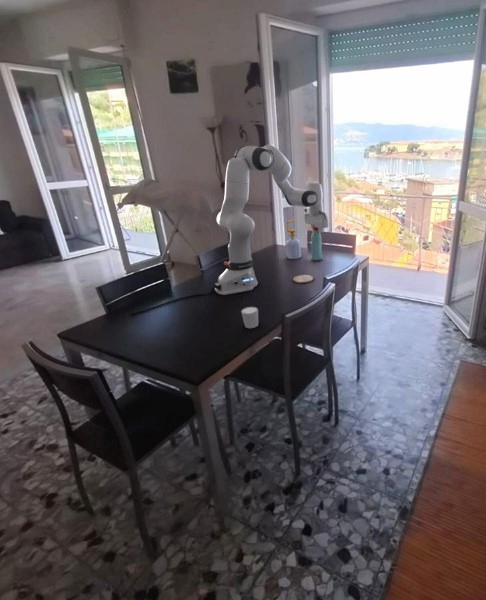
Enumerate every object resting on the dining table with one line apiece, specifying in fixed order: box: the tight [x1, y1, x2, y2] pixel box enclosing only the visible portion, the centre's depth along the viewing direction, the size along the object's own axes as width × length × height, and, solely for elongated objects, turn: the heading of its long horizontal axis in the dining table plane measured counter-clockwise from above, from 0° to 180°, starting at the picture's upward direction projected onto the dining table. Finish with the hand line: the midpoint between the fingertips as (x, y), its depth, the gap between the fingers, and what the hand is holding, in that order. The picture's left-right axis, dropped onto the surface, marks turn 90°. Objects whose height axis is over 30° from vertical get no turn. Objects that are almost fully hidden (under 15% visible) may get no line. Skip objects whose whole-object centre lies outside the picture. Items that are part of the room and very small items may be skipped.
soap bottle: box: [285, 218, 302, 260], centre depth 227 cm, size 9×9×25 cm
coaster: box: [292, 274, 314, 284], centre depth 195 cm, size 11×11×1 cm
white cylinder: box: [240, 306, 259, 329], centre depth 148 cm, size 7×7×7 cm
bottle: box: [310, 230, 323, 261], centre depth 222 cm, size 6×6×20 cm
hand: (316, 232), depth 219 cm, fingers closed on bottle, 4 cm apart
